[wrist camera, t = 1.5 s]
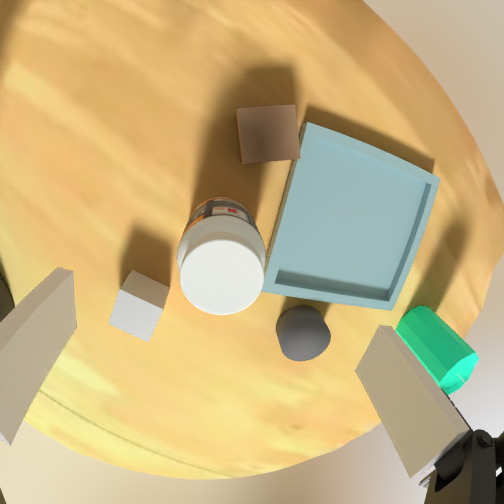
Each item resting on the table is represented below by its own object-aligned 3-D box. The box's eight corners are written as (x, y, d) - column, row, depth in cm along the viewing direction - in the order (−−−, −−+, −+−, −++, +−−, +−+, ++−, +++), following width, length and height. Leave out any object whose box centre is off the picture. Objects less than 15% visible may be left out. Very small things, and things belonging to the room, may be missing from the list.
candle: (412, 348, 33) (458, 406, 22) (386, 338, 32) (436, 404, 20) (438, 313, 31) (492, 365, 20) (415, 298, 30) (476, 357, 19)
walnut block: (240, 161, 23) (244, 164, 19) (235, 114, 21) (238, 108, 18) (288, 156, 23) (300, 158, 19) (283, 111, 22) (295, 104, 18)
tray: (258, 283, 27) (260, 291, 25) (302, 123, 22) (307, 121, 21) (385, 303, 30) (391, 310, 28) (431, 176, 25) (440, 178, 23)
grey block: (120, 301, 26) (108, 323, 22) (132, 269, 25) (119, 288, 21) (156, 318, 27) (148, 342, 24) (170, 287, 26) (163, 309, 22)
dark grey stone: (270, 340, 30) (274, 359, 27) (283, 301, 28) (290, 318, 25) (312, 345, 30) (320, 362, 28) (328, 307, 29) (338, 323, 26)
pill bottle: (192, 191, 23) (172, 221, 14) (259, 200, 24) (283, 235, 15) (185, 255, 25) (167, 316, 16) (248, 262, 26) (263, 326, 17)
